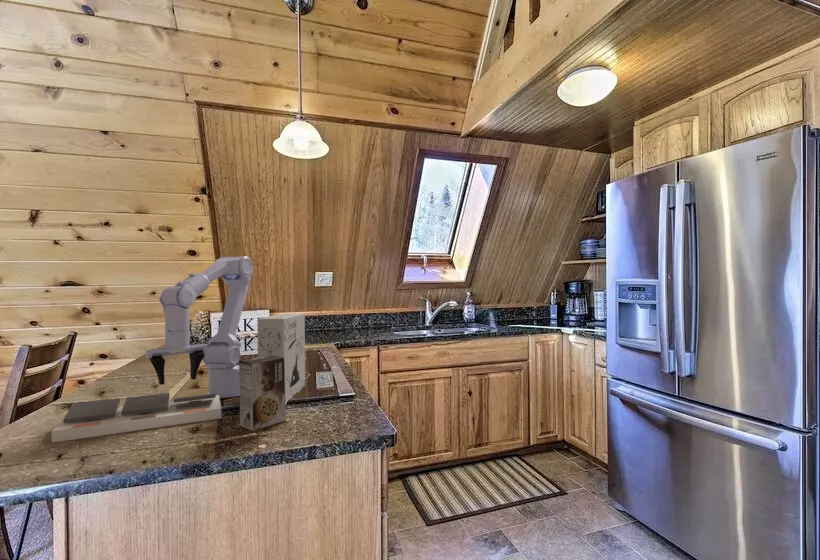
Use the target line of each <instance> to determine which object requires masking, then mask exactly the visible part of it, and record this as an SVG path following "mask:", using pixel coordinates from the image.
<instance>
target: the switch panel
mask: <svg viewBox="0 0 820 560" xmlns="http://www.w3.org/2000/svg"><path fill="white" fill-rule="evenodd" d="M220 399H221V398H219V395H216V398H209V399H201V400H193V401H185V402H177V403H174V400H169V404H168V410H163V411H155V412H147V413H140V414H132V415H124V416H122V414H121V412H122V409H123V406H119V407H118V409H117V412H116V414H115V417H109V418H102V419H94V420H86V421H78V422H70V423H64V422H63V420H62V421H61V422H60V423H59V424H58V425H56V427H54V428H53V429H52V431H51V443H59V442H67V441H72V440H79V439H80V440H81V439H87V438H93V437H94V438H95V437H101V436H108V435H115V434H121V433H127V432H128V433H130V432H136V431H144V430H149V429H156V428H163V427H171V426H177V425H184V424H190V423H198V422H205V421H206V422H207V421H212V420H218V419H222V406H221V405H222V403H221V400H220Z"/></svg>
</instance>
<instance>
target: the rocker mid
mask: <svg viewBox="0 0 820 560" xmlns="http://www.w3.org/2000/svg"><path fill="white" fill-rule="evenodd" d="M170 394H171V393H170V392H165V393H156V394H147V395H138V396H130V397H129V396H128V397H126V398H125V402H124V404H123V406H122V407H123V409H122V412H121V414H122V416H124V415H132V414H140V413H147V412H155V411H163V410H168V404H169V401H170Z"/></svg>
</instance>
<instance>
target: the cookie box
mask: <svg viewBox="0 0 820 560" xmlns="http://www.w3.org/2000/svg"><path fill="white" fill-rule="evenodd" d="M238 363H239V364H238V365H239V375H240V396H239V426H240V427H243V428H245V429H247V430H250V431H252V432H254V431H257V430H260V429H264V428H266V427H270V426H273V425H277V424H279V423H283V422H285V421H286V418H287V417H286V405H285V368H284V358H282V357H278V356H274V355H269V356H263V357H258V356H257V357H252V358H247V359H239V361H238Z"/></svg>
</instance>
